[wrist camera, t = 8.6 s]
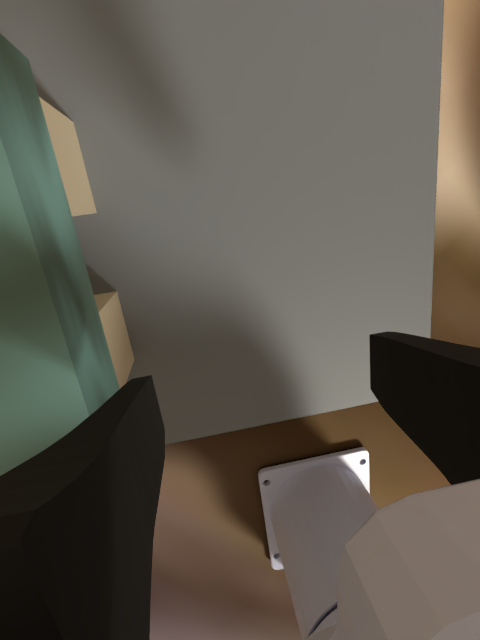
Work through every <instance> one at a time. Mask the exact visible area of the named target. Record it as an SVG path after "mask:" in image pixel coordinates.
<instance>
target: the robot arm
mask: <svg viewBox="0 0 480 640" xmlns="http://www.w3.org/2000/svg"><path fill="white" fill-rule="evenodd" d="M369 340H370V389H371V391H372V392H373V394H374V395H375V397H376V398H377V400H378V401H379V403H380V404H381V406H382V407H383V408H384V410H385V411H386V412H387V414H388V415H389V416H390V417H391V418H392V419H393V420H394V421H395V422H396V423H397V425H398V426H399V427H400V428H401V429H402V430H403V431H404V432H405V433H406V434H407V435H408V436H409V437H410V439H411V440H412V441H413V442H414V443H415V444H416V445H417V446H418V447H419V448H420V449H421V450H422V451H423V452H424V453H425V455H426V456H427V457H428V458H429V459H430V460H431V461H432V462H433V463H434V464H435V465H436V467H437V468H438V469H439V470H440V471H441V472H442V474H443V475H444V476H445V477H446V479H447V480H448V481H449V483H450V484H451V485H450V486H446V487H442V488H437V489H433V490H429V491H424V492H420V493H416V494H412V495H410V496H408V497H405V498H403V499H401V500H399V501H396V502H394V503H392V504H390V505H388V506H385V507H383V508H381V509H379V508H378V507H377V505H376V504H375V502H374V500H373V499H372V497H371V496H370V479H369V453H368V451H367V450H366V449H365V448H363V447H359V448H355V449H350V450H345V451H341V452H336V453H331V454H327V455H322V456H317V457H313V458H308V459H304V460H299V461H294V462H290V463H285V464H280V465H276V466H271V467H266V468H263V469H261V470H260V471H259V472H258V479H259V486H260V493H261V499H262V506H263V513H264V519H265V526H266V533H267V539H268V546H269V553H270V559H271V565H272V568H273V569H275V570H280V569H284V571H285V575H286V579H287V583H288V587H289V590H290V594H291V598H292V602H293V606H294V609H295V613H296V617H297V621H298V625H299V628H300V632H301V636H302V640H480V348H477V347H471V346H465V345H460V344H455V343H450V342H445V341H440V340H435V339H430V338H426V337H421V336H416V335H411V334H405V333H399V332H388V331H387V332H381V333H376V334H370V335H369ZM164 459H165V428H164V424H163V420H162V416H161V411H160V407H159V403H158V399H157V395H156V391H155V387H154V383H153V379H152V375H149V376H144V377H138V378H133V379H131V380H129V381H128V382H127V383H126V384H125V385H123V386H122V387H121V388H120V389H119V390H118V391H117V392H116V393H115V394H114V395H113V396H111V397H110V398H109V399H108V400H107V401H106V402H105V403H104V404H103V405H102V406H100V407H99V408H98V409H97V410H96V411H95V412H94V413H92V414H91V415H90V416H89V417H88V418H86V419H85V420H84V421H83V422H82V423H80V424H79V425H78V426H77V427H75V428H74V429H73V430H72V431H70V432H69V433H68V434H66V435H65V436H64V437H62V438H61V439H59V440H58V441H56V442H55V443H54V444H52V445H51V446H49V447H48V448H46V449H45V450H43V451H42V452H40V453H39V454H37V455H35V456H34V457H32V458H30V459H28V460H27V461H25V462H23V463H22V464H20V465H18V466H16V467H15V468H13V469H11V470H10V471H8V472H6V473H5V474H3V475H1V476H0V640H149V633H150V597H151V571H152V550H153V536H154V526H155V519H156V513H157V506H158V500H159V493H160V487H161V480H162V473H163V467H164ZM362 459H363V460H362ZM360 460H362V461H360ZM265 480H268V481H267V482H264V481H265Z"/></svg>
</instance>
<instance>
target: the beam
mask: <svg viewBox="0 0 480 640" xmlns="http://www.w3.org/2000/svg"><path fill="white" fill-rule="evenodd" d="M119 389H120V388H119V384H118V381H117V377H116V373H115V370H114V366H113V363H112V359H111V355H110V352H109V348H108V345H107V341H106V337H105V334H104V330H103V326H102V323H101V319H100V316H99V312H98V308H97V305H96V301H95V298H94V294H93V290H92V287H91V283H90V279H89V276H88V272H87V269H86V265H85V261H84V258H83V254H82V251H81V247H80V243H79V240H78V236H77V232H76V229H75V225H74V222H73V218H72V214H71V211H70V207H69V203H68V200H67V196H66V193H65V189H64V185H63V182H62V178H61V175H60V171H59V167H58V164H57V160H56V156H55V153H54V149H53V146H52V142H51V138H50V135H49V131H48V128H47V124H46V120H45V117H44V113H43V109H42V106H41V102H40V99H39V95H38V91H37V88H36V84H35V81H34V77H33V73H32V70H31V66H30V62H29V59H28V58H27V57H26V56H24V55H23V54H22V53H21V52H20V51H19V50H18V49H17V48H16V47H15V46H14V45H13V44H12V43H10V42H9V41H8V40H7V39H6V38H5V37H4V36H3V35H2V34H1V33H0V476H1V475H3V474H5V473H6V472H8V471H10V470H11V469H13V468H15V467H16V466H18V465H20V464H22V463H23V462H25V461H27V460H28V459H30V458H32V457H34V456H35V455H37V454H39V453H40V452H42V451H43V450H45V449H46V448H48V447H49V446H51V445H52V444H54V443H55V442H56V441H58V440H59V439H61V438H62V437H64V436H65V435H66V434H68V433H69V432H70V431H72V430H73V429H74V428H75V427H77V426H78V425H79V424H80V423H82V422H83V421H84V420H85V419H86V418H88V417H89V416H90V415H91V414H92V413H94V412H95V411H96V410H97V409H98V408H99V407H100V406H102V405H103V404H104V403H105V402H106V401H107V400H108V399H109V398H110V397H111V396H113V395H114V394H115V393H116V392H117V391H118V390H119Z"/></svg>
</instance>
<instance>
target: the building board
mask: <svg viewBox="0 0 480 640" xmlns="http://www.w3.org/2000/svg"><path fill="white" fill-rule="evenodd" d="M443 13H444V0H0V33H1V34H2V35H3V36H4V37H5V38H6V39H7V40H8V41H9V42H10V43H12V44H13V45H14V46H15V47H16V48H17V49H18V50H19V51H20V52H21V53H22V54H23V55H24V56H26V57H27V58H28V59H29V62H30V66H31V70H32V73H33V77H34V81H35V84H36V88H37V91H38V95H39V99H40V102H41V106H42V109H43V113H44V117H45V120H46V124H47V128H48V131H49V135H50V138H51V142H52V146H53V149H54V153H55V156H56V160H57V164H58V167H59V171H60V175H61V178H62V182H63V185H64V189H65V193H66V196H67V200H68V203H69V207H70V211H71V214H72V218H73V222H74V225H75V229H76V232H77V236H78V240H79V243H80V247H81V251H82V254H83V258H84V261H85V265H86V269H87V272H88V276H89V279H90V283H91V287H92V290H93V294H94V298H95V301H96V305H97V308H98V312H99V316H100V319H101V323H102V326H103V330H104V334H105V337H106V341H107V345H108V348H109V352H110V355H111V359H112V363H113V366H114V370H115V373H116V377H117V381H118V384H119V388H121V387H122V386H123V385H125V384H126V383H127V382H128V381H129V380H131V379H133V378H138V377H144V376H149V375H152V379H153V383H154V387H155V391H156V395H157V399H158V403H159V407H160V411H161V416H162V420H163V424H164V428H165V445H167V444H172V443H177V442H182V441H187V440H192V439H197V438H202V437H207V436H211V435H216V434H221V433H226V432H231V431H236V430H241V429H246V428H251V427H256V426H261V425H265V424H270V423H275V422H280V421H285V420H290V419H295V418H300V417H305V416H310V415H315V414H320V413H324V412H329V411H334V410H339V409H344V408H349V407H354V406H359V405H364V404H369V403H374V402H379V401H378V400H377V398H376V397H375V395H374V394H373V392H372V391H371V389H370V340H369V335H370V334H376V333H381V332H387V331H388V332H399V333H405V334H411V335H416V336H421V337H426V338H430V331H431V307H432V282H433V258H434V233H435V209H436V184H437V160H438V135H439V111H440V86H441V62H442V37H443Z"/></svg>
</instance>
